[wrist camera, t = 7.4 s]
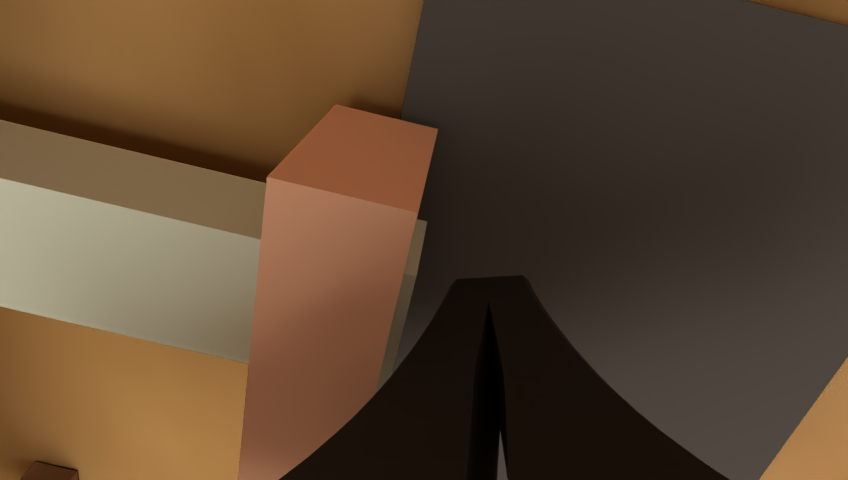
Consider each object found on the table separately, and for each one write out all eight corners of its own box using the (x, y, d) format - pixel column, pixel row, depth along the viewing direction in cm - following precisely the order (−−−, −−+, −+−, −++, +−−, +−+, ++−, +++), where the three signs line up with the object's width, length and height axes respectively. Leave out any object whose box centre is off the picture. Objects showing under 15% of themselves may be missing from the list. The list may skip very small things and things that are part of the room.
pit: (1028, 71, 9) (1050, 76, 9) (708, 528, 15) (713, 542, 15) (441, -75, 9) (439, -76, 9) (335, 442, 15) (332, 455, 14)
